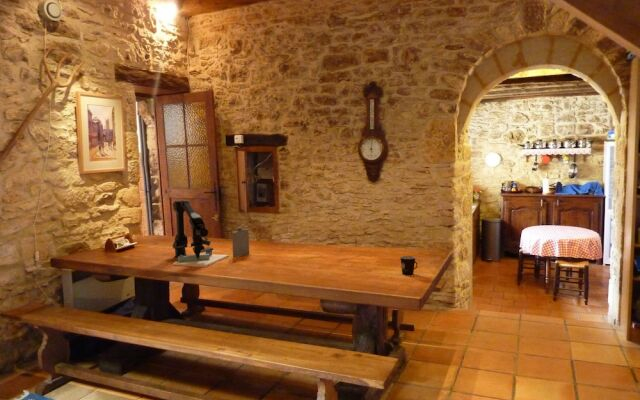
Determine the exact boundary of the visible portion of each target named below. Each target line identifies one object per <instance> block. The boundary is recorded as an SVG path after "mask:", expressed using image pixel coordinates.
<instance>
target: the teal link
mask: <svg viewBox="0 0 640 400" xmlns="http://www.w3.org/2000/svg"><path fill="white" fill-rule="evenodd" d="M205 259H210V257H209V254H206V253H201V255H200V256H199V259H197V257H196V255H195V254H193V255H191V254H190V255H187V256H183V255H180V256H178V257H177V261H178V262H184V261H194V260H205Z"/></svg>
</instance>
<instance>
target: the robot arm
mask: <svg viewBox="0 0 640 400" xmlns="http://www.w3.org/2000/svg"><path fill="white" fill-rule="evenodd" d="M172 206H173V207H172V208H173V210H174V213H175V216H176V235H175V237H174V241H173V243H172V249H174V252H175V256H173V257H174V258H178V256H180V255H183V256H188V255H187V251H186V248H188V243H189V240H188V236H187V235H186V233H185V219H184V218H185V217H184V213H186V214H187V216H188V218H189V220H188V222H189V224H190V226H191V227H190V229H191V231H192V233H191V234H192V236H191V239H192V242H191V243H190V247H191V248H192V252H193V253H194V255H196V257H197V259H199V256H200V252H201V250H205V248H206V247H209V246H210V245H211V242H212V241H211V240H208V239H209V238H207V237H208V235H209V231H208V229H207V228H206V224H205V222H204V220H203V218H202V216H201V215H200V214H198V213H197V212H196V211H195V210H194V208H193V207H192V205H191V204H190V201H189V200H187V199H186V200H184V199H182V200H175V201H173V203H172ZM204 245H205V246H206V247H205V246H204Z"/></svg>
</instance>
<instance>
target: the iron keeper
mask: <svg viewBox="0 0 640 400" xmlns="http://www.w3.org/2000/svg"><path fill="white" fill-rule="evenodd" d="M204 248H205V250H201V252H200V253H201V254H203V253H205V254H209V256H210V255H212V254H213V250H214V248H213V247H209V246H206V247H204Z"/></svg>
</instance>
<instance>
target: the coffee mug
mask: <svg viewBox="0 0 640 400" xmlns="http://www.w3.org/2000/svg"><path fill="white" fill-rule="evenodd" d="M400 265H401V266H400V267H401V274H402V275H403V276H407V275H410V276H413V275H414V273H415V272H414V271H415V270H416V269H417V268H418V262H417V261H416V256H413V255H402V256H400Z"/></svg>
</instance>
